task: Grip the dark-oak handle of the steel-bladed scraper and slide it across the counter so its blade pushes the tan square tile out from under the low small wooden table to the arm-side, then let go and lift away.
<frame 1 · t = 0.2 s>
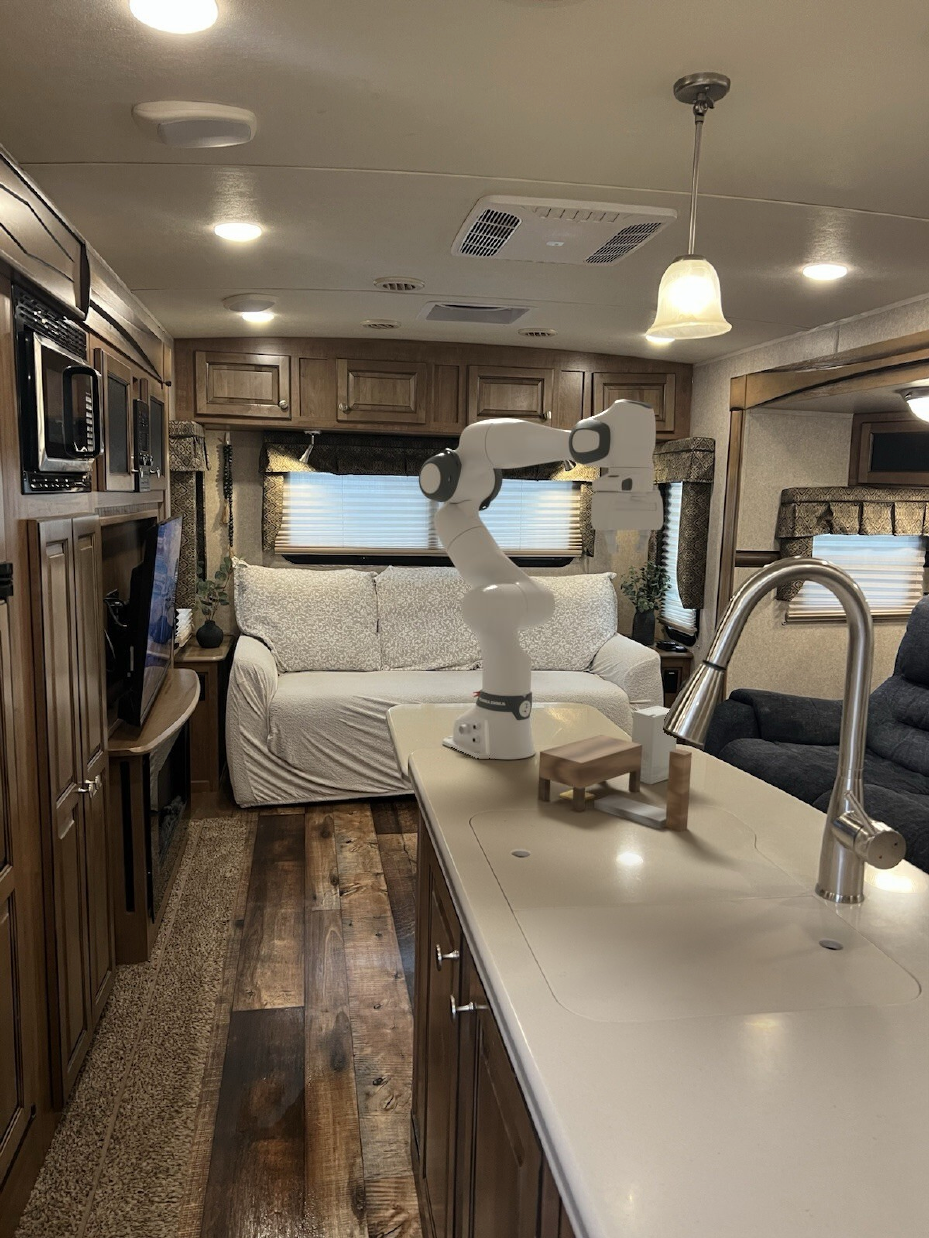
hand: (627, 553, 183), 48 cm above the counter, fingers open, 8 cm apart
small wooden table: (589, 794, 182), on the counter
tan square tile: (576, 799, 181), on the counter
scraper: (676, 827, 165), on the counter
skincare box: (651, 779, 194), on the counter
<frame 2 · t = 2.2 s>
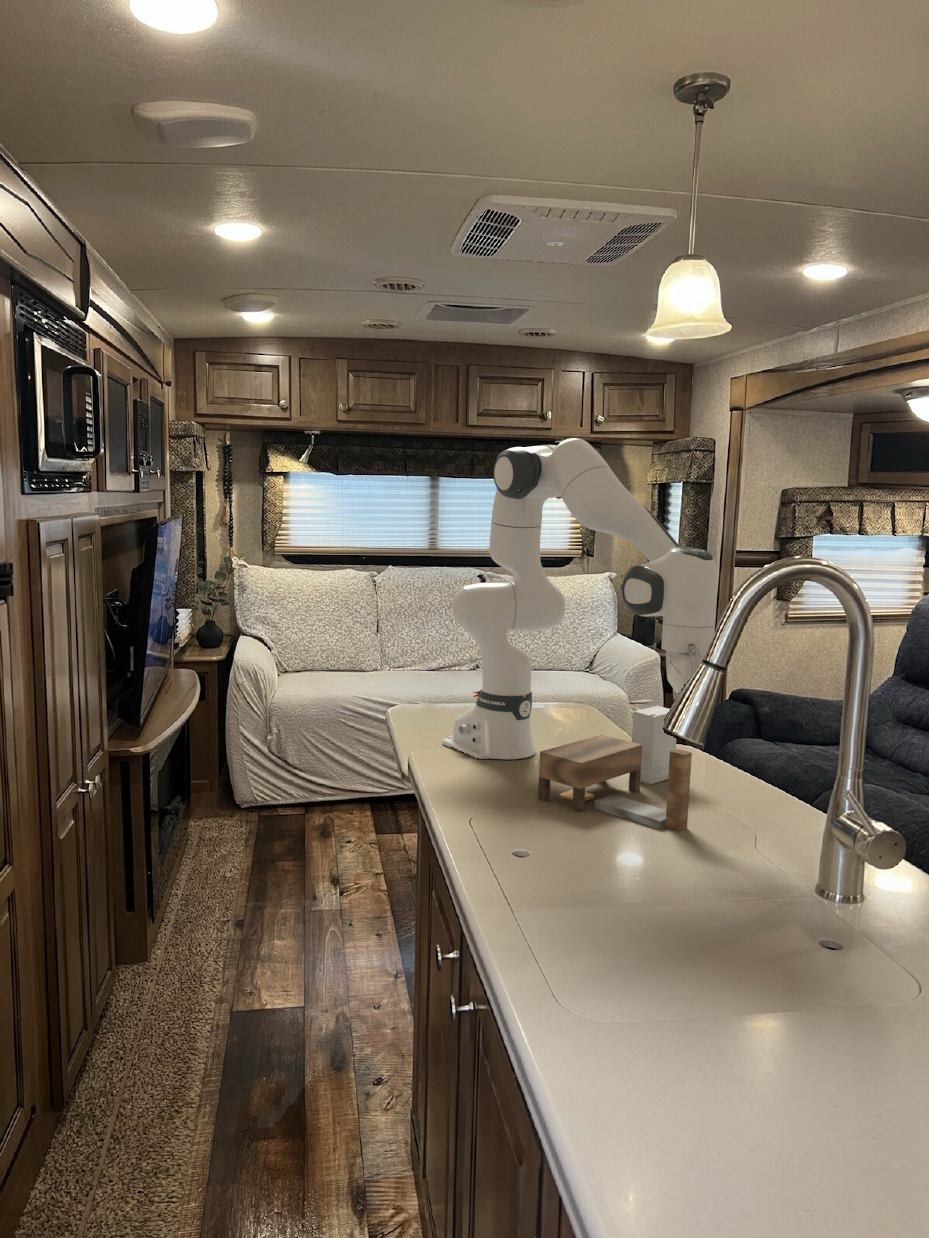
hand: (683, 718, 162), 20 cm above the counter, fingers open, 8 cm apart
nothing on the counter moved.
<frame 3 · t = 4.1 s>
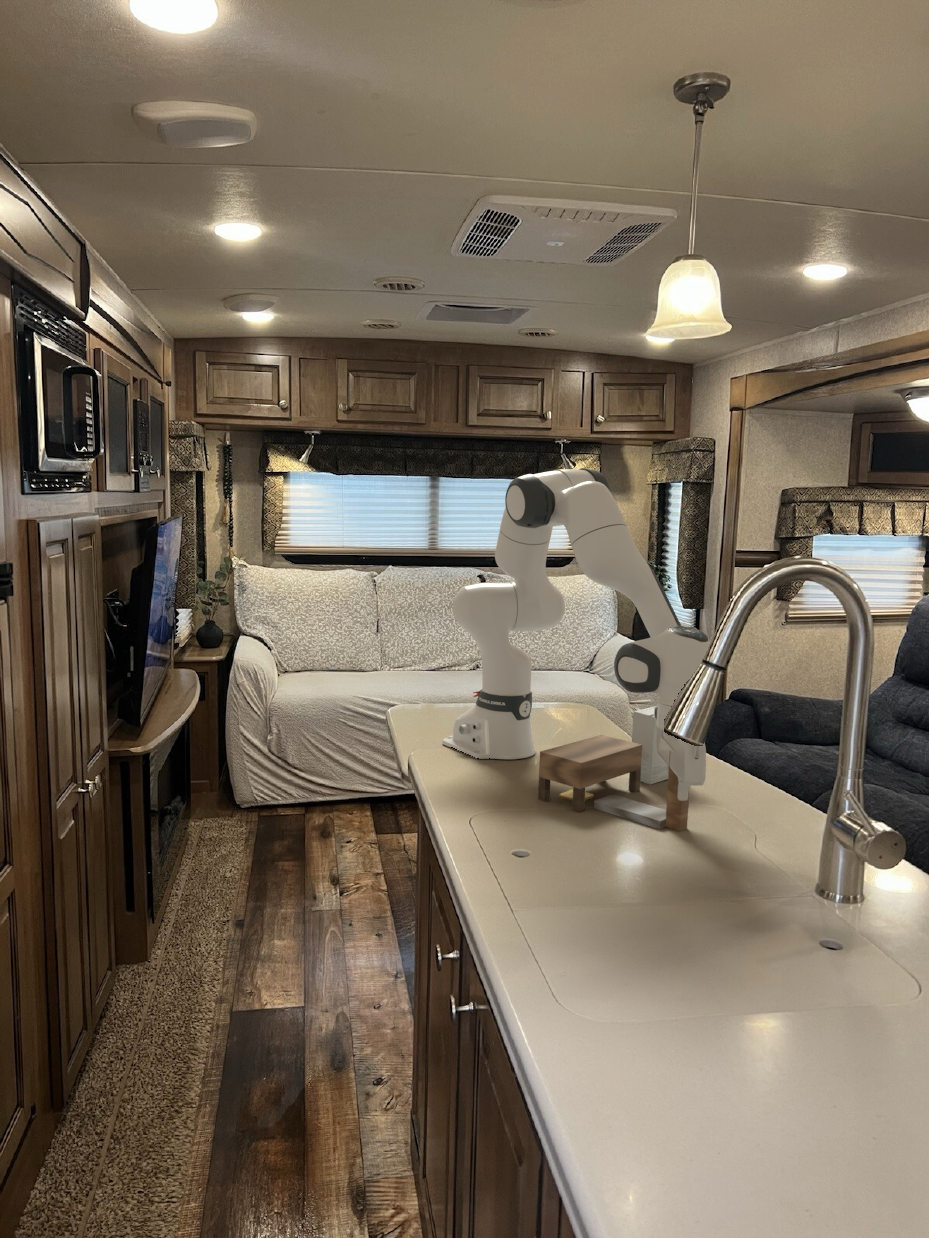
hand: (678, 794, 164), 6 cm above the counter, fingers closed on scraper, 4 cm apart
scraper: (676, 827, 165), on the counter, touching gripper
everything else where it was.
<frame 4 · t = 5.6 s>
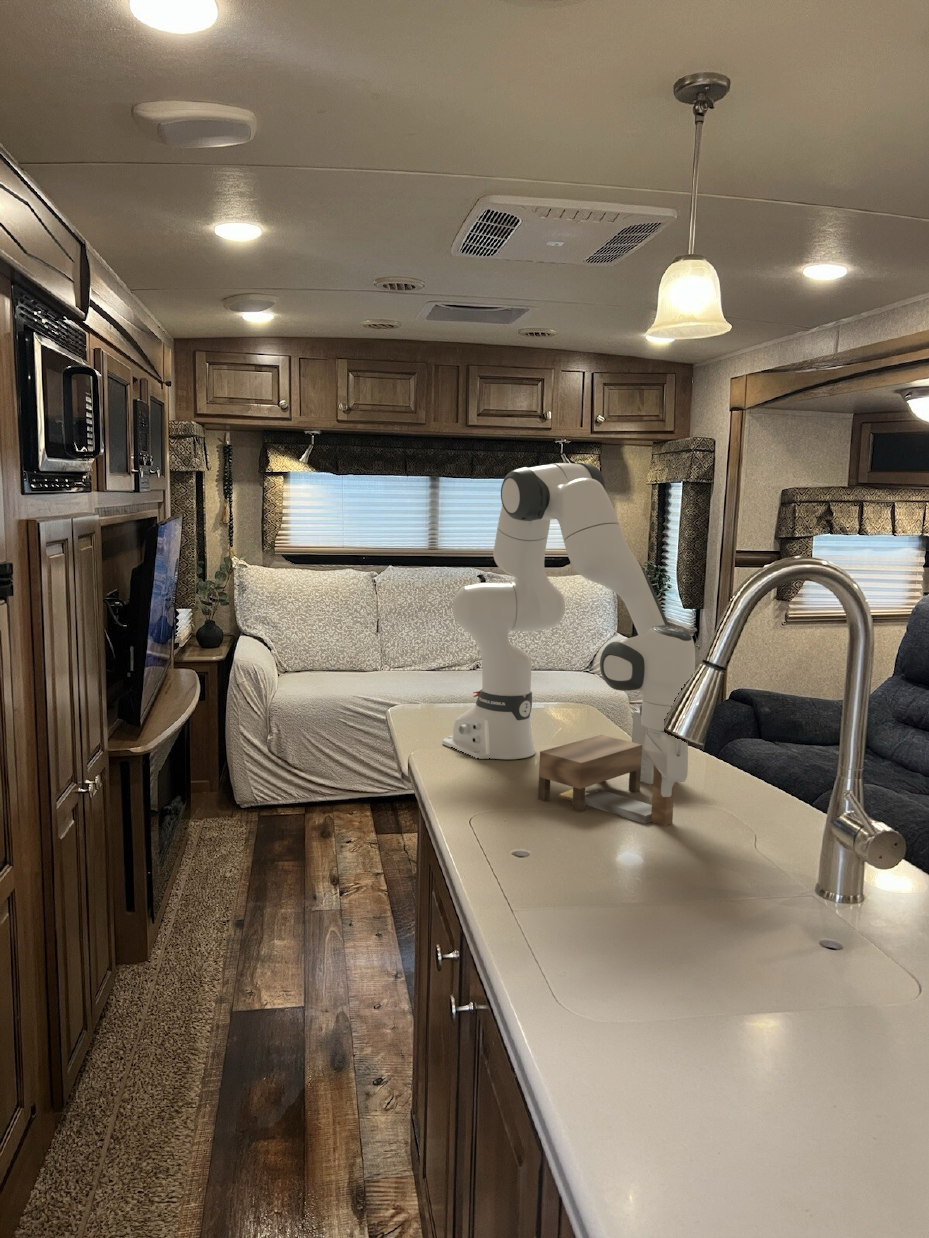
hand: (662, 790, 167), 6 cm above the counter, fingers closed on scraper, 4 cm apart
scraper: (661, 822, 167), on the counter, touching gripper
everything else where it was.
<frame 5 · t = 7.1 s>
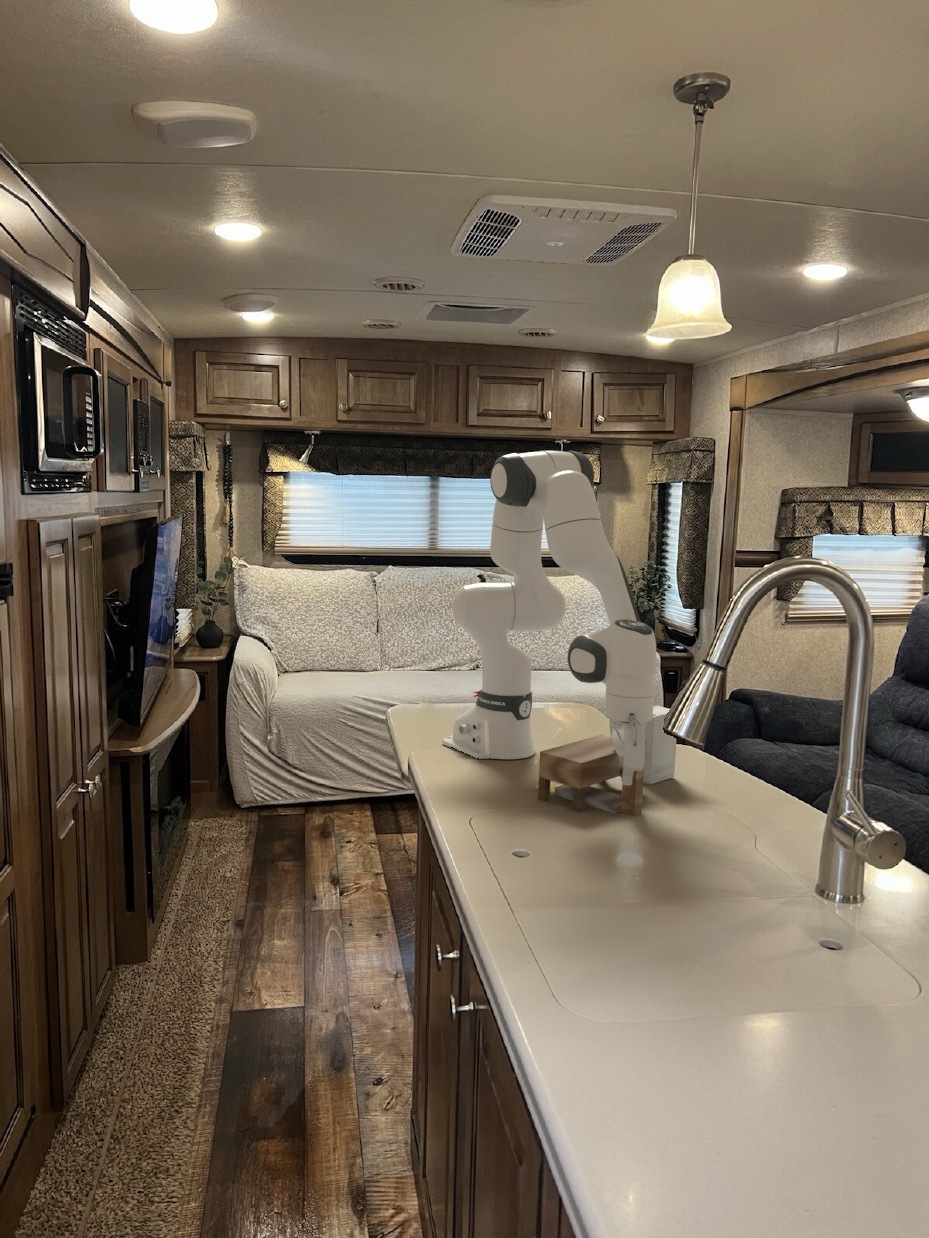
hand: (624, 780, 172), 6 cm above the counter, fingers open, 3 cm apart
tan square tile: (552, 791, 185), on the counter
scraper: (631, 812, 172), on the counter
everything else where it was.
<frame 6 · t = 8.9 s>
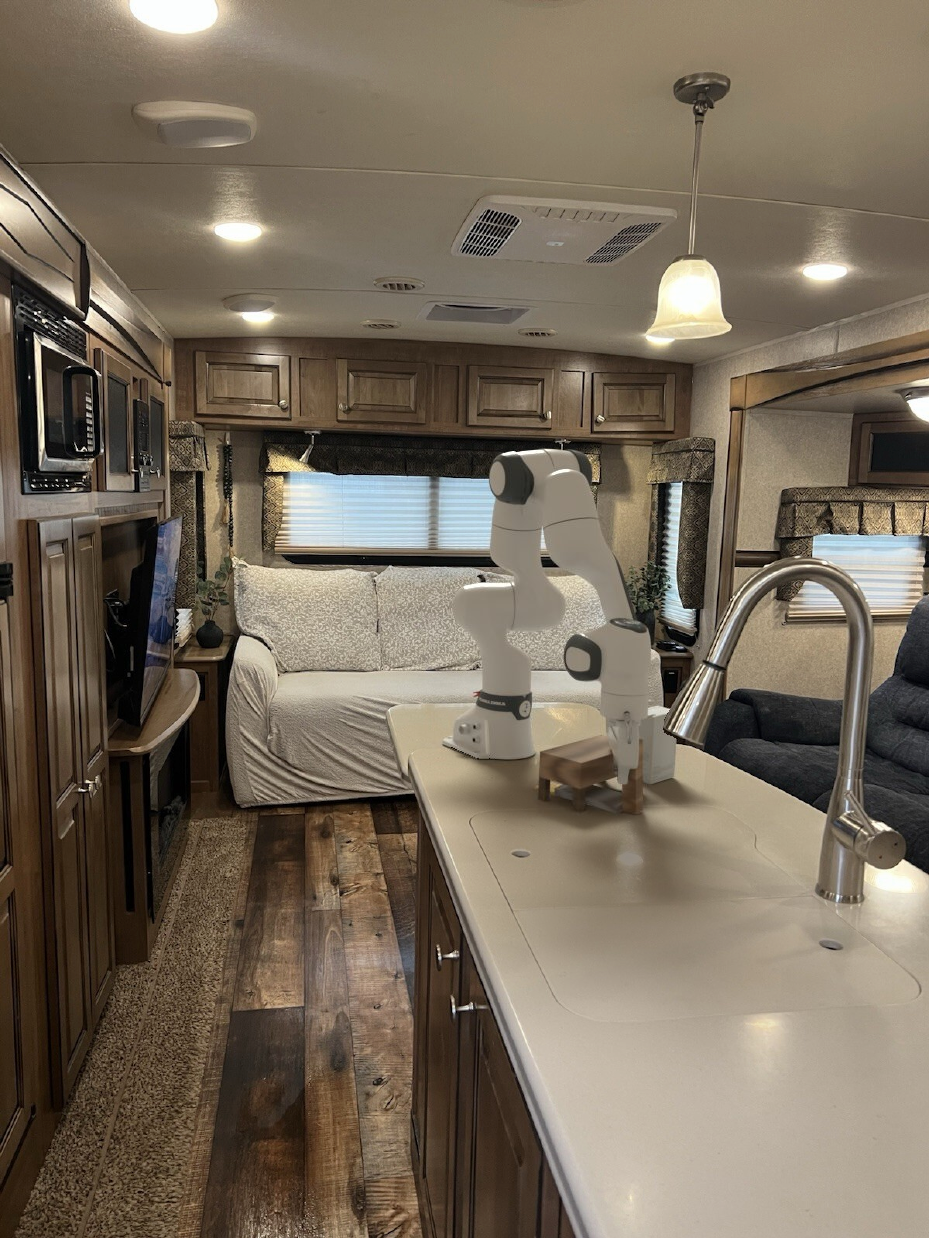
hand: (620, 778, 173), 6 cm above the counter, fingers open, 5 cm apart
scraper: (632, 810, 173), on the counter, tilted 6°, touching gripper
everything else where it was.
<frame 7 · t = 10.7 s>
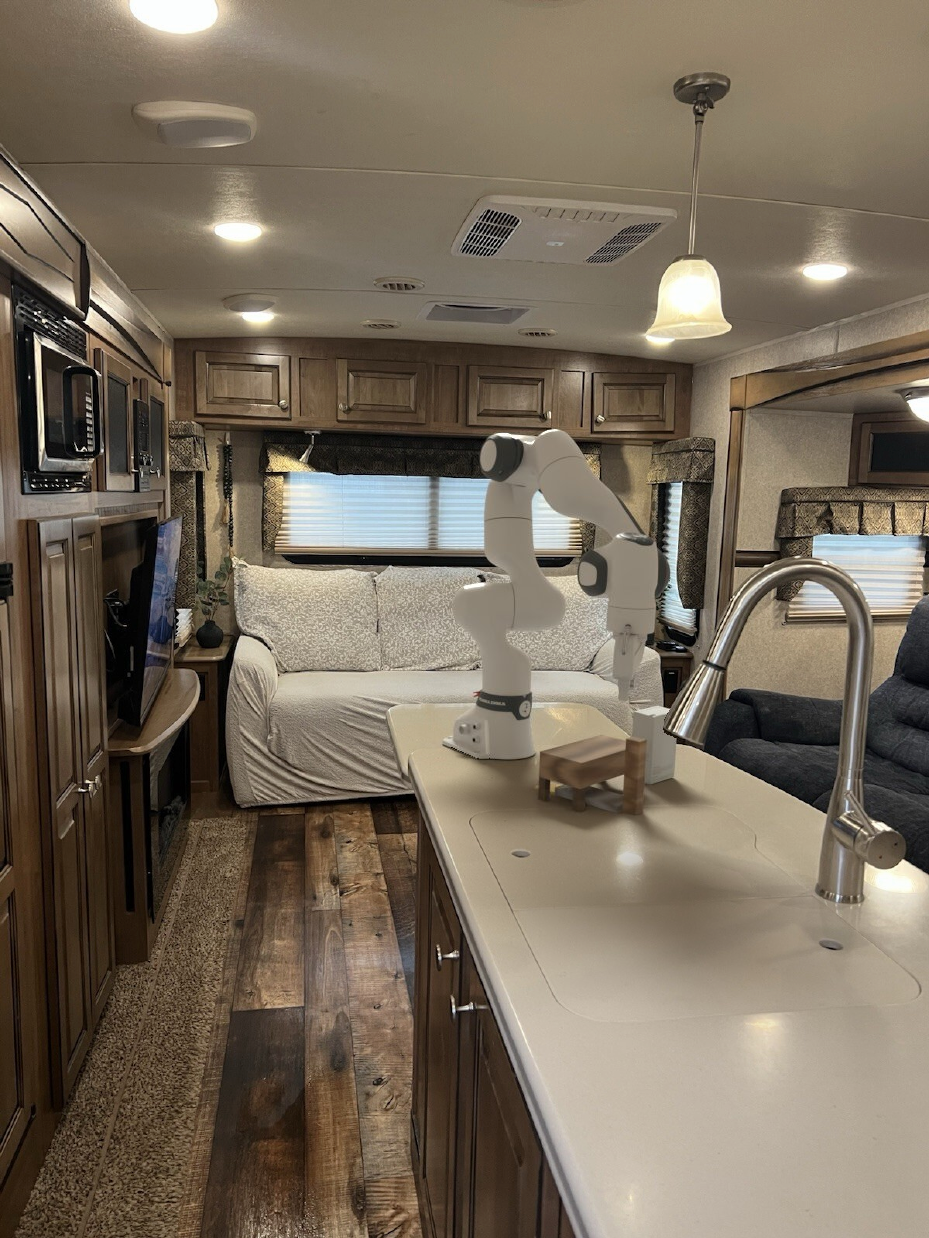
hand: (626, 694, 172), 22 cm above the counter, fingers open, 8 cm apart
scraper: (632, 811, 173), on the counter
everything else where it was.
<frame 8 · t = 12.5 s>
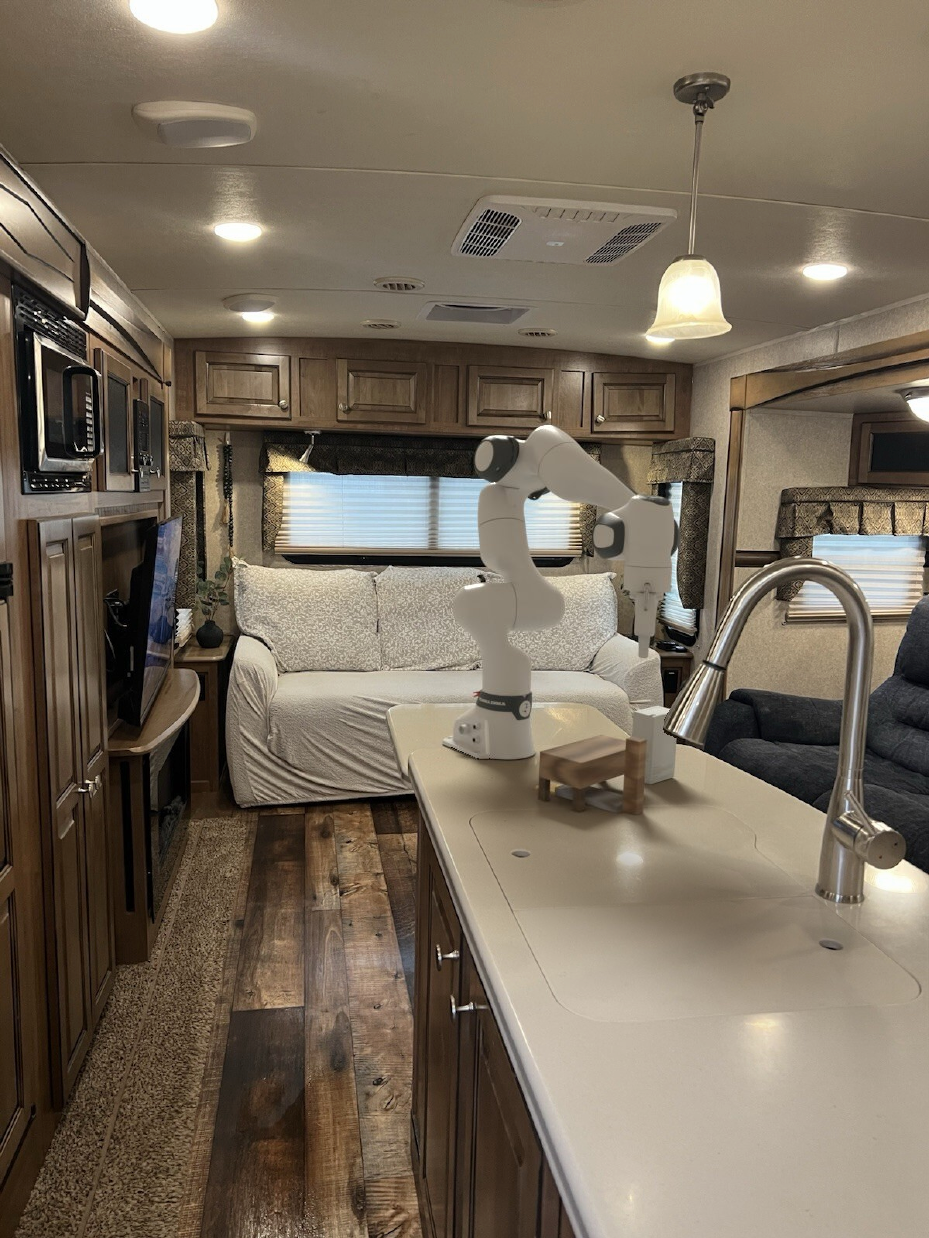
hand: (643, 653, 175), 29 cm above the counter, fingers open, 8 cm apart
nothing on the counter moved.
at the end: tan square tile inside the target area (5.3 cm from its centre), on the counter; tan square tile tilted 0°; the gripper is holding nothing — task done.
